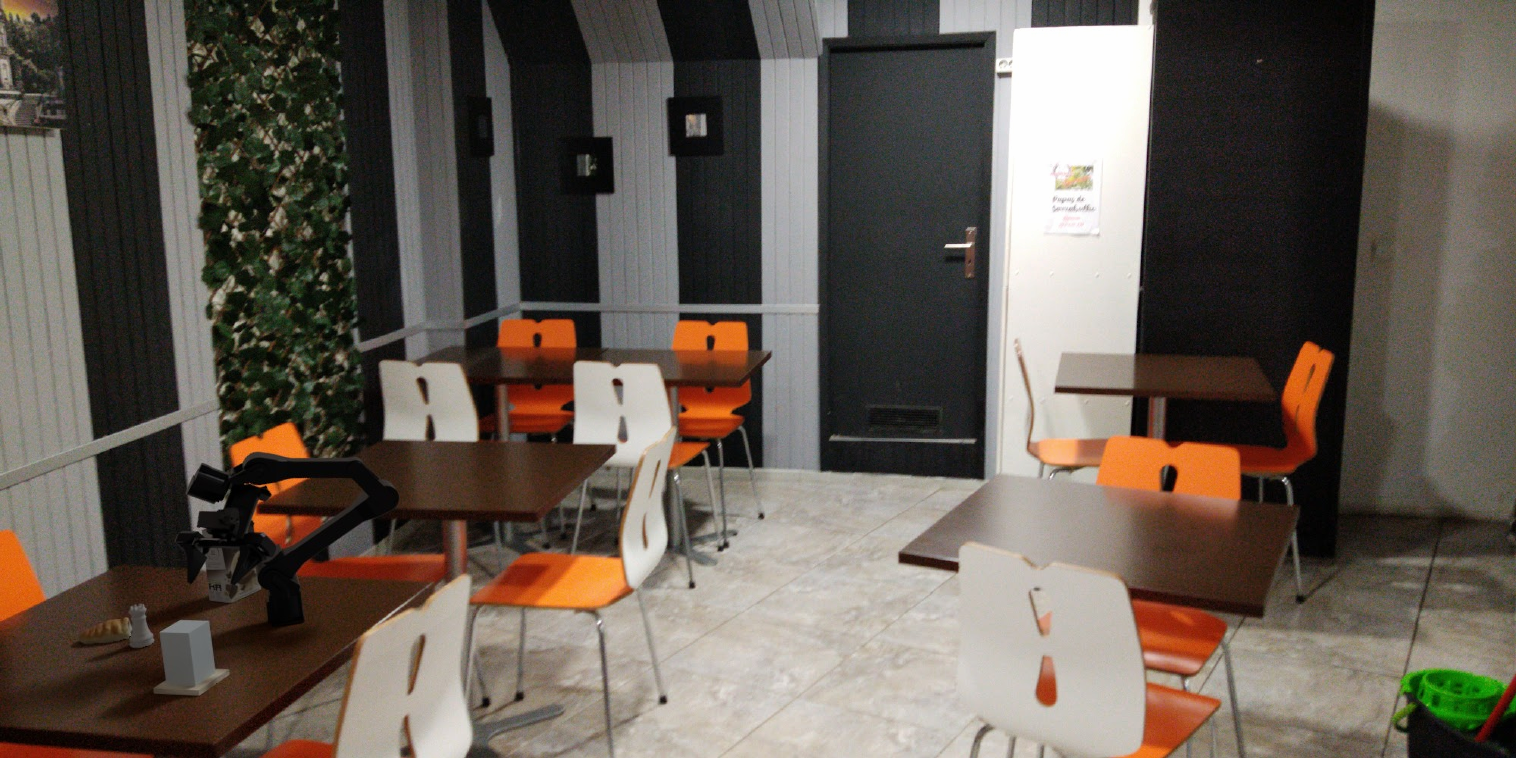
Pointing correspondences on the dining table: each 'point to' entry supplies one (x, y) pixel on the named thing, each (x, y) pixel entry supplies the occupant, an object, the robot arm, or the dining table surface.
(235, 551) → the coffee box
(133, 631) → the rook chess piece
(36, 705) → the dining table surface
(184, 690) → the post board
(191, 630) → the grey tall rectangular block
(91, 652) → the dining table surface
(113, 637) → the pastry
